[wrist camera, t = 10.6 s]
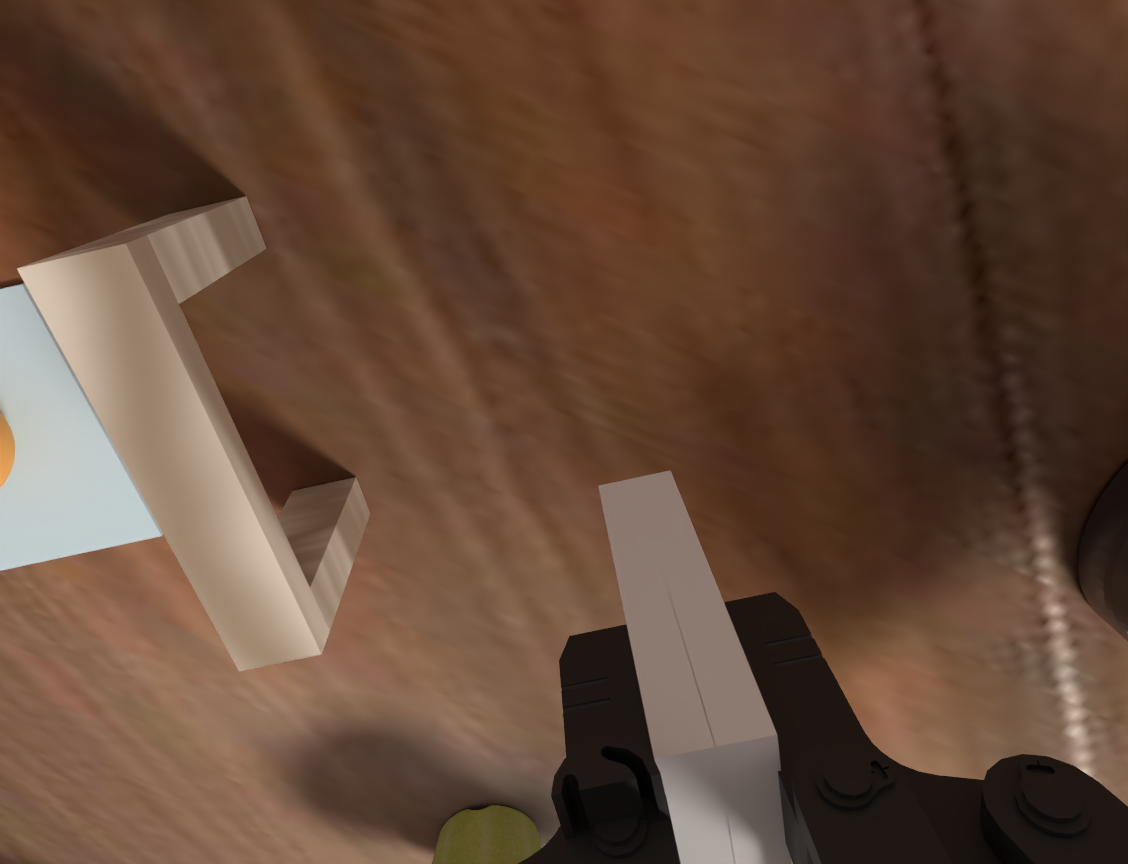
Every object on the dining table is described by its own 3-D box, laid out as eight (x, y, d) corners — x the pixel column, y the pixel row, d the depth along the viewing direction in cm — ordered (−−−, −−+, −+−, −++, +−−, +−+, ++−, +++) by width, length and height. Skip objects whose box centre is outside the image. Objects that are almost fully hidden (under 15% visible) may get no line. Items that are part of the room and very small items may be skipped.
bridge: (246, 196, 27) (125, 243, 19) (370, 513, 33) (321, 654, 25) (170, 213, 27) (16, 268, 19) (308, 526, 33) (239, 671, 25)
